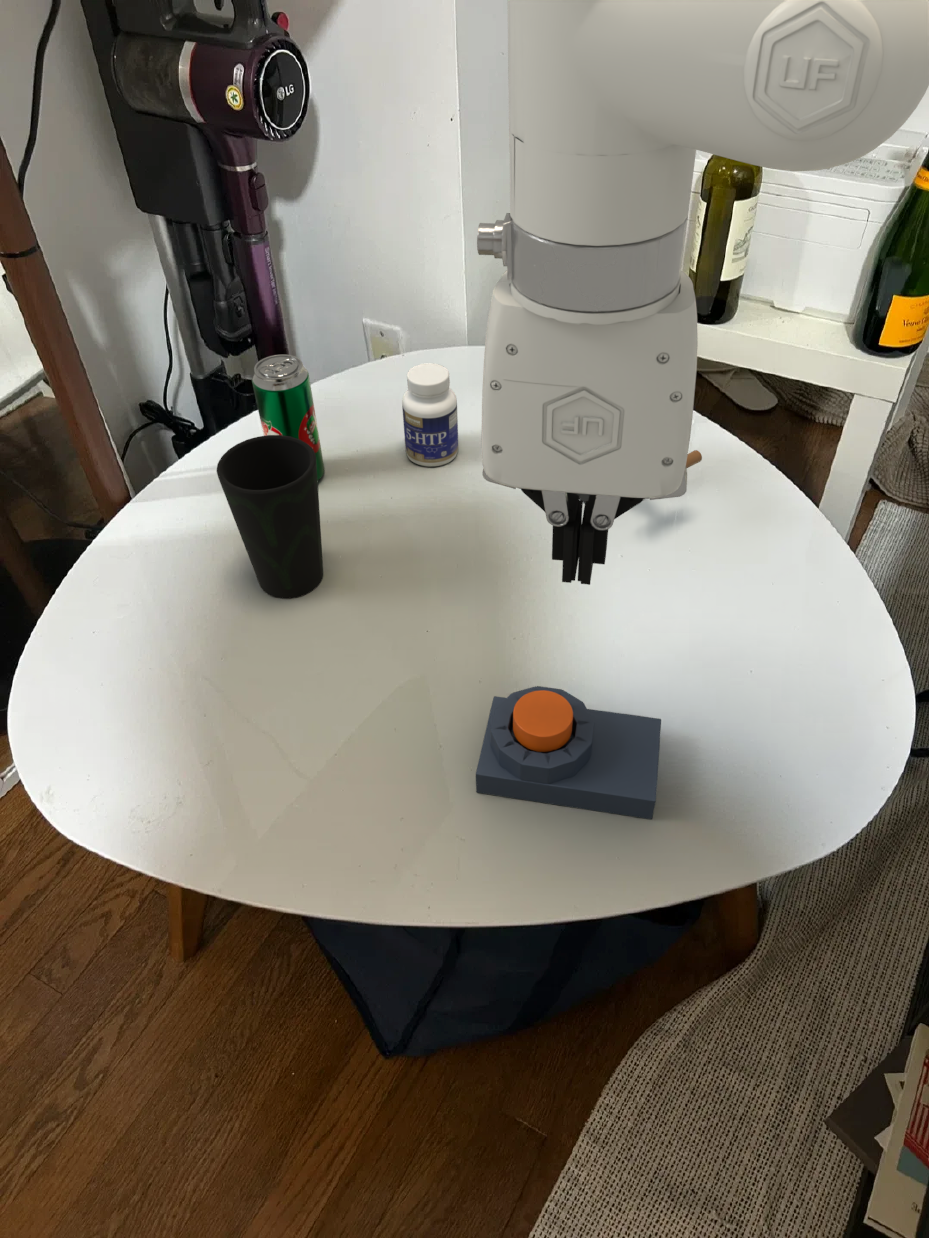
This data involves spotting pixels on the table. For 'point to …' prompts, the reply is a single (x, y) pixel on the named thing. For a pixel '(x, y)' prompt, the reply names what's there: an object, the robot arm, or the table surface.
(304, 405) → the soda can
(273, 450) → the cup
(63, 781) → the table surface
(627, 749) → the control block
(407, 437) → the pill bottle
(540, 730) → the button
